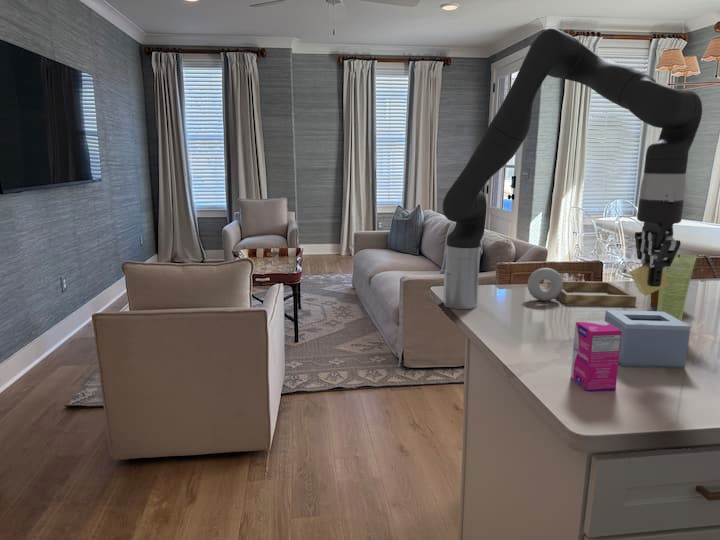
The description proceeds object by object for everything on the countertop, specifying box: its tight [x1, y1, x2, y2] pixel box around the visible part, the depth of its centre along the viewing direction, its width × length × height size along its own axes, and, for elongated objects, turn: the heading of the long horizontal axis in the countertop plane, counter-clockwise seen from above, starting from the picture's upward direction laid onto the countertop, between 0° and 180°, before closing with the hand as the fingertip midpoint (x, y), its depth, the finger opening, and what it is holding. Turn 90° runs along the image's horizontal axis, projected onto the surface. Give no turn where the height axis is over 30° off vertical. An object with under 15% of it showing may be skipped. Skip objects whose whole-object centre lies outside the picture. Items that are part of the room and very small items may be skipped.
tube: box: [656, 253, 698, 321], centre depth 120 cm, size 6×5×20 cm
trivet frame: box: [546, 280, 637, 307], centre depth 155 cm, size 19×18×3 cm
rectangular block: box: [629, 262, 670, 297], centre depth 102 cm, size 5×2×5 cm
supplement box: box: [570, 320, 622, 392], centre depth 92 cm, size 6×6×12 cm
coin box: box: [604, 309, 692, 369], centre depth 105 cm, size 12×10×9 cm
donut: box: [527, 267, 564, 302], centre depth 150 cm, size 10×4×10 cm, turn 84°
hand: (650, 284), depth 103 cm, fingers closed on rectangular block, 2 cm apart
